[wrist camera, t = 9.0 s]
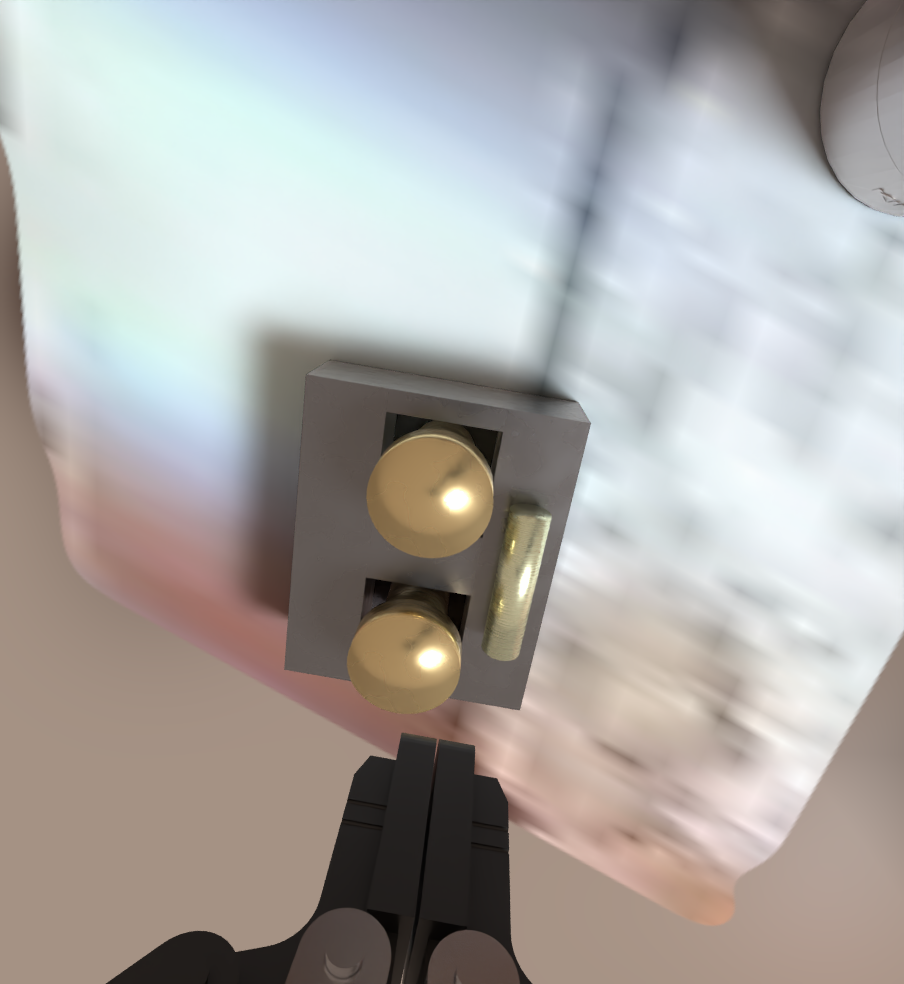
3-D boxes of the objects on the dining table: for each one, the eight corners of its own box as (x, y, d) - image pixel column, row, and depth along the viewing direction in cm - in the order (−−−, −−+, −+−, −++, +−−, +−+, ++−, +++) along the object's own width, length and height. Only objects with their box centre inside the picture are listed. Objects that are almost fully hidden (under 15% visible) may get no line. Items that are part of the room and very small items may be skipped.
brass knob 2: (380, 541, 33) (352, 609, 26) (473, 557, 32) (468, 629, 26) (370, 621, 34) (341, 703, 28) (458, 636, 34) (450, 722, 28)
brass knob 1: (399, 392, 30) (373, 429, 23) (501, 410, 30) (504, 451, 23) (387, 488, 31) (360, 546, 25) (483, 505, 31) (481, 567, 25)
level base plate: (329, 359, 29) (292, 382, 24) (578, 402, 29) (597, 434, 24) (307, 625, 35) (272, 692, 29) (517, 661, 35) (521, 736, 29)
